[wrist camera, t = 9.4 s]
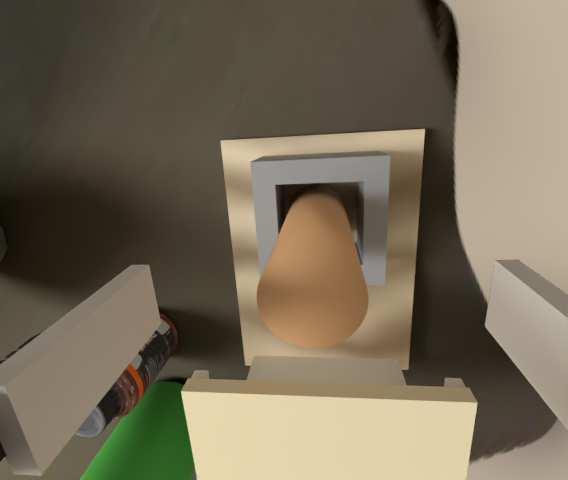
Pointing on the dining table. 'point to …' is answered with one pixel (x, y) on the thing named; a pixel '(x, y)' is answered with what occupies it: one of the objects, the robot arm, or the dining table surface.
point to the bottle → (148, 441)
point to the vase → (2, 244)
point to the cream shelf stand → (327, 422)
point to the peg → (314, 274)
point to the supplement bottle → (133, 380)
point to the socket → (326, 169)
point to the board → (400, 235)
